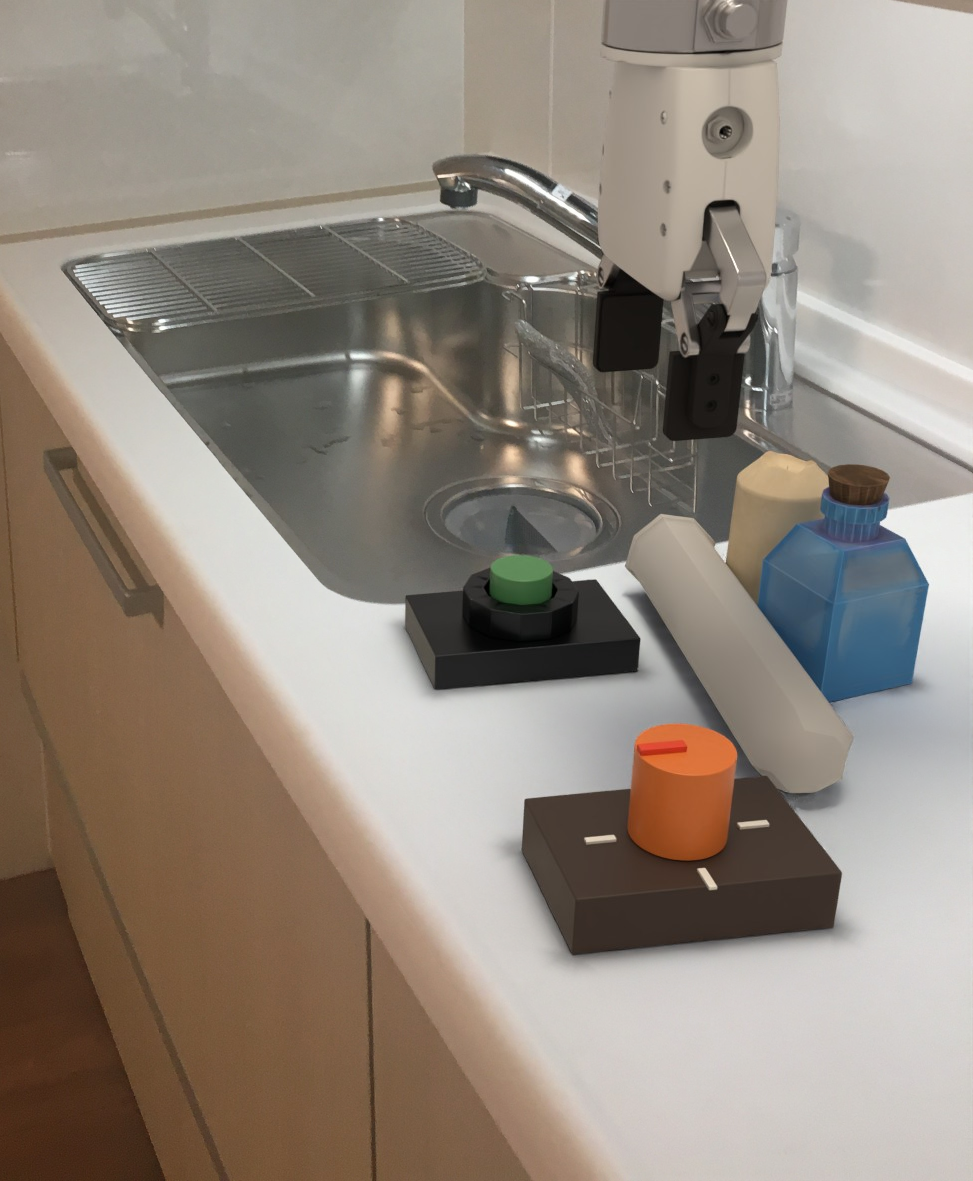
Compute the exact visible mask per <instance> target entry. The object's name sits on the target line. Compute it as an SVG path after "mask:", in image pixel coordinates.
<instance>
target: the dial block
mask: <svg viewBox="0 0 973 1181" xmlns="http://www.w3.org/2000/svg"><path fill="white" fill-rule="evenodd" d="M630 792H631V788H621V789H612V790H611V789H610V790H601V791H590V792H581V793H580V792H579V793H570V794H560V795H559V794H558V795H548V796H540V797H539V796H538V797H528V798H524V800H523V815H522V816H523V817H522V818H523V819H522V834H521V835H522V837H521V838H522V839H521V851H522V853H523V856H524V857H525V858H524V859H525V860H526V862H527V865H529V868H530V870H531V872H532V875H533V876H534V878H535V880H536V883H537V884H538V886H539V889H540V891H541V893H542V895H543V897H544V899H545V901H546V903H547V905H548V907H549V909H550V911H551V913H552V915H553V917H554V920H555V922H556V924H557V926H558V928H559V931H560V932H561V935H562V936H563V939H564V940H565V942H566V944H567V946H568V949H569V951H570V953H571V954H572V955H579V954H587V953H597V952H607V951H617V950H627V949H637V948H645V947H655V946H665V945H674V944H685V943H693V942H704V941H713V940H723V939H732V938H741V937H751V936H760V935H769V934H779V933H788V932H797V931H798V932H799V931H808V930H818V929H827V928H834V926H835V920H836V915H837V908H838V902H839V896H840V890H841V883H842V879H843V878H842V877H843V871H842V870H841V869H840V867H839V866H838V865H837V864H836V862H835V861H834V860H833V859H832V857H831V856H830V854H829V853H828V852H827V851H826V849H825V848H824V847H823V846H822V845H821V843H820V842H819V841H818V840H817V838H816V837H815V835H814V834H813V833H812V832H811V830H810V829H809V828H808V826H807V825H806V824H805V823H804V821H803V820H802V818H800V816H799V815H798V814H797V812H796V811H795V810H794V809H793V807H792V806H791V804H790V803H789V802H788V801H787V800H786V798H785V796H783V794H782V793H781V792H780V790H779V789H777V788H776V787H775V785H774V784H773V783H772V781H771V780H770V779H769V778H768V776H762V775H759V776H758V775H757V776H748V777H747V776H746V777H738V778H737V777H735V779H734V787H733V796H732V804H731V812H730V821H729V829H728V837H727V843H726V845H725V846H724V848H723V849H722V850H721V851H720V852H719V853H717V854H715V855H713V856H711V857H708V858H705V859H701V860H692V861H681V860H673V859H667V858H663V857H660V856H657V855H654V854H652V853H649V852H647V851H646V850H644V849H642V848H641V847H639V846H638V845H637V844H636V843H635V842H634V841H633V840H632V838H631V837H630V835H629V833H628V815H629V803H630Z"/></svg>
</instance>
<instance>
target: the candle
mask: <svg viewBox="0 0 973 1181" xmlns="http://www.w3.org/2000/svg"><path fill="white" fill-rule="evenodd" d="M827 487H829V480H828V474H827V473H826V472H825V471H824V470H823V469H821V468H820V466H818V463H817V462H815V461H814V460H812V459H811V460H807V461H806V460H804V459H800V458H798V457H795V456H793V455H790V454H787V453H778V452H775V451H773V450H768V451H766V452H764V453H763V454H762V455H761V456H759V458H757V459H756V460H754V461H752V463H750V464H749V465H748V466H746V467H745V468H744V469H742V470H740V471H739V473H738V474H737V476H736V482H735V489H734V495H733V496H734V497H733V503H732V513H731V519H730V527H729V528H730V529H729V535H728V541H727V542H728V543H727V550H726V556H725V557H726V558H725V563H726V564H727V566H728V567H729V568H730V570H731V571H732V572H733V574H734V575H735V576H736V578H737V579H738V581H739V582H740V583H741V585H742V586H743V587H744V589H745V590H746V591H747V593H748V594H749V595H750V597H751V598H752V599H753V601H754V602H755V603H756V605H758V597H759V589H760V581H761V573H762V565H763V559H764V558H765V557H766V556H767V555H768V554H769V553H770V552H771V551H772V550H773V549H774V548H775V546H776V545H777V544H778V543H779V542H780V541H781V540H782V539H783V538H784V537H785V536H786V535H787V534H788V533H789V532H790V531H791V530H792V528H793V527H794V526H795V525H796V524H798V523H803V522H808V521H813V520H818V519H823V518H824V517H825V515H824V514H823V513H822V512H821V510H820V505H821V498H822V492H823V490H824V489H825V488H827Z"/></svg>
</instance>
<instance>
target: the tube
mask: <svg viewBox="0 0 973 1181" xmlns="http://www.w3.org/2000/svg"><path fill="white" fill-rule="evenodd" d="M715 546H716V541H715V540H714V539H713V538H712V537H711V536H710V535H709V533H707V531H706V530H705V529H704V527H702V526H701V524H699V523H698V521H697V520H696V519H695V518H694V517H687V516H682V515H681V516H680V515H672V514H665V513H660V514H659V515H658V516H656V517H655V518H654V519H653V520H651V521H650V522H649V523H648V524H647V525H645V526H644V527H642V528H641V529H640V530H639V531H638V532H636V534H634V535H633V537H632V541H631V544H630V547H629V551H628V554H627V557H626V561H625V564H624V567H625V569H626V570H627V571H628V572H629V573H630V574H631V575H632V576H633V577H634V578H635V579H636V580H637V582H639V584H640V586H641V587H642V589H643V591H644V592H645V594H646V595H647V597H648V598H649V600H650V602H651V604H652V605H653V606H654V608H655V610H656V612H657V613H658V615H659V616H660V618H661V620H662V621H663V623H664V624H665V626H666V628H667V629H668V631H669V633H670V634H671V636H672V637H673V639H674V641H675V642H676V644H677V646H678V647H679V649H680V651H681V653H682V654H683V656H684V657H685V659H686V660H687V662H688V663H689V665H690V667H691V668H692V670H693V672H694V673H695V675H696V677H697V679H698V680H699V682H700V683H701V685H702V686H703V688H704V689H705V691H706V693H707V694H708V696H709V697H710V699H711V700H712V703H713V704H714V706H715V708H716V709H717V711H718V713H719V714H720V716H721V717H722V719H723V720H724V722H725V724H726V725H727V727H728V729H729V730H730V732H731V733H732V736H734V738H735V740H736V741H737V743H738V745H739V746H740V748H741V750H742V752H743V753H744V754H745V756H746V758H747V760H748V761H749V764H751V766H752V767H753V768H754V769H755V770H756V771H757V772H758V774H760V776H768V778H769V779H770V780H771V781H772V783H773V784H774V785H775V787H776V788H777V789H778V790H779V791H782V792H785V793H788V794H807V793H808V794H809V793H810V794H811V793H817V792H819V791H821V790H824V789H825V788H828V787H829V786H831V785H833V784H835V783H837V782H840V781H841V780H843V777H844V774H845V773H844V772H845V769H846V764H847V759H848V756H849V751H850V749H851V746H852V743H853V741H854V738H855V735H854V734H853V733H852V731H850V729H849V728H848V726H847V725H846V723H844V721H843V720H842V718H841V717H840V715H839V714H838V713H837V711H836V710H835V709H834V707H833V706H832V704H831V702H828V701H827V699H826V698H825V697H824V695H823V694H822V693H821V691H820V690H819V689H818V687H817V686H816V685H815V683H814V682H813V680H812V679H811V678H810V676H809V675H808V674H807V672H806V671H805V670H804V668H803V667H802V666H801V664H800V663H799V662H798V660H797V659H796V658H795V656H794V655H793V653H792V652H791V651H790V649H789V648H788V647H787V645H786V644H785V643H784V641H783V640H782V639H781V637H780V636H779V635H778V633H777V632H776V631H775V629H774V628H773V626H772V625H771V624H770V622H769V621H768V620H767V618H766V617H765V616H764V614H763V613H762V612H761V610H760V609H759V608H758V606H757V605H756V603H755V602H754V601H753V599H752V598H751V597H750V595H749V594H748V593H747V591H746V590H745V589H744V587H743V586H742V585H741V583H740V582H739V581H738V579H737V578H736V576H735V575H734V574H733V572H732V571H731V570H730V568H729V567H728V566H727V564H726V561H725V560H724V559H723V557H722V556H721V555H720V553H719V552H718V551H717V549H716V548H715Z"/></svg>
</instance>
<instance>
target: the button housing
mask: <svg viewBox="0 0 973 1181" xmlns="http://www.w3.org/2000/svg"><path fill="white" fill-rule="evenodd" d="M489 590H490V567H488V568H485V569H483V570H480V571H478V572H474V573H473V574H471V575H470V576H469V577H468V579H467V581H466V582H465V584H464V585H463V587H462V590H452V591H441V592H439V591H438V592H429V593H416V594H406V595H405V597H404V598H405V600H404V602H405V604H404V605H405V606H404V628H405V629H406V632H407V633H408V635H409V638H410V640H411V642H412V644H413V646H414V648H415V650H416V652H417V654H418V657H419V658H420V661H421V662H422V665H423V667H424V670H425V672H426V673H427V675H428V677H429V680H430V682H431V684H432V687H433V689H434V690H442V689H452V688H466V687H477V686H486V685H497V684H499V685H500V684H510V683H520V682H531V681H542V680H554V679H564V678H576V677H586V676H587V677H588V676H599V675H610V674H623V673H632V672H638V671H639V661H640V660H639V659H640V649H641V637H640V635H639V634H638V633H637V631H636V630H635V629H634V627H633V626H632V625H631V624H630V622H629V621H628V620H627V618H626V617H625V616H624V614H623V613H622V611H621V610H620V609H619V608H618V606H617V605H616V603H615V602H614V601H613V600H612V598H611V597H610V596H609V595H608V593H607V592H606V590H605V589H604V587H603V586H602V585H601V584H600V582H599V581H598V580H597V579H595V578H594V579H583V580H572V579H571V578H570V577H569V576H566V575H564V574H561V573H559V572H557V571H556V570H553V580H552V596H551V598H550V599H549V600H547V601H545V602H542V603H539V604H527V605H518V604H512V603H505V602H501V601H499V600H496V599H494V598H492V597H491V596H490V593H489Z"/></svg>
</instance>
